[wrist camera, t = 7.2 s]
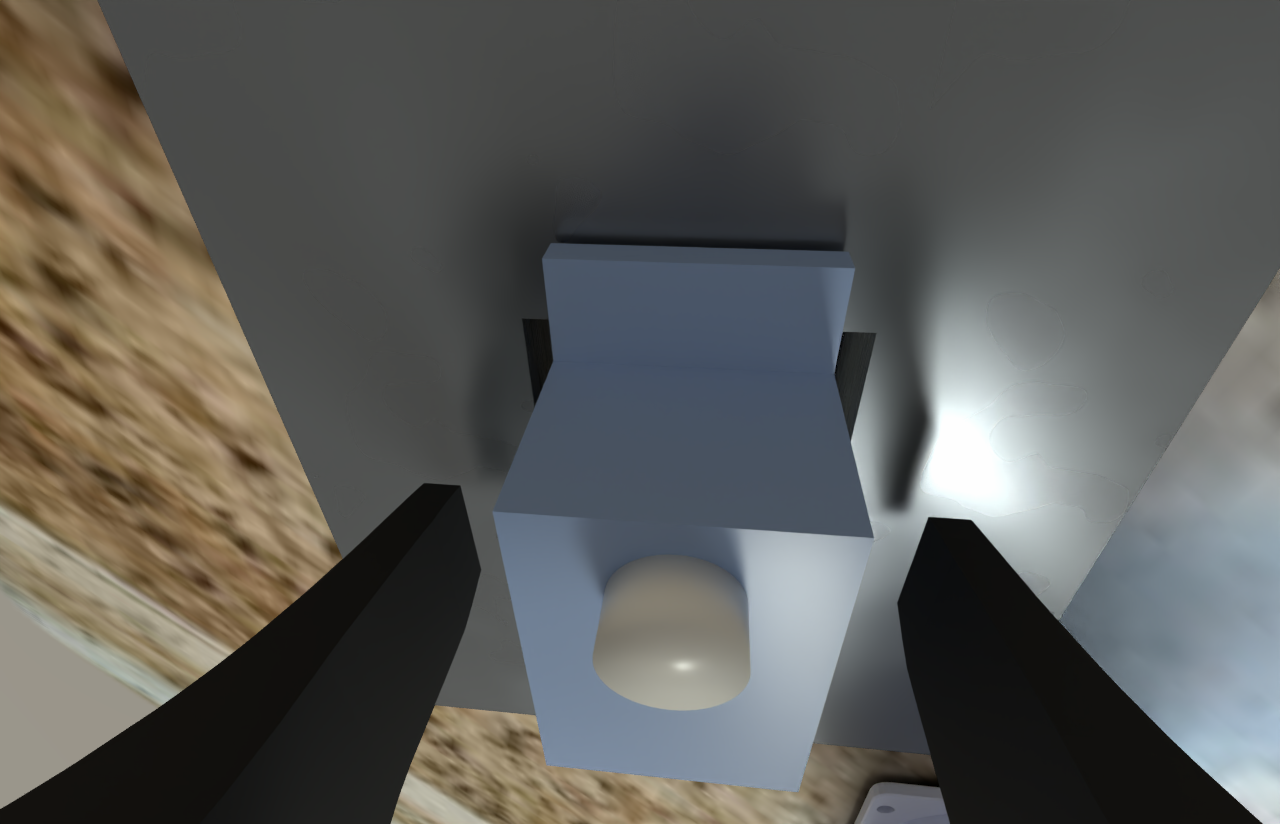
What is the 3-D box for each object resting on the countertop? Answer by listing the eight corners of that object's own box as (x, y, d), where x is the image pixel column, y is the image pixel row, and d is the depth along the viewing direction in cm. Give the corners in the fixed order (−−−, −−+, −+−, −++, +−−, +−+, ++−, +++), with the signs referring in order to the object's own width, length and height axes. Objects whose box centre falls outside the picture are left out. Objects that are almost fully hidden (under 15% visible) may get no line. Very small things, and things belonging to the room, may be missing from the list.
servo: (767, 578, 15) (787, 899, 10) (605, 565, 15) (546, 869, 10) (828, 199, 10) (937, 480, 5) (578, 193, 10) (433, 449, 5)
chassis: (950, 687, 17) (971, 758, 15) (431, 640, 18) (405, 702, 16) (1355, -102, 7) (1516, -109, 6) (176, -78, 8) (62, -81, 7)
